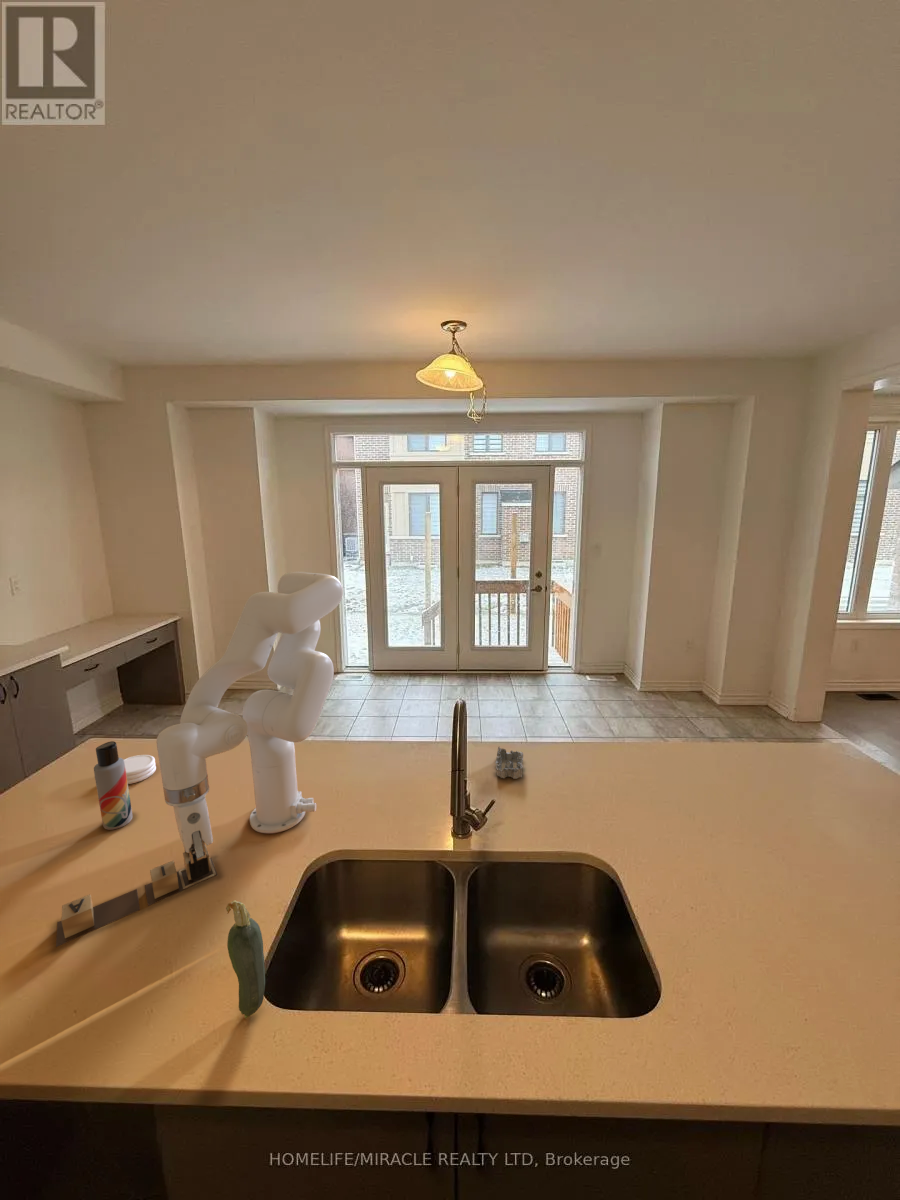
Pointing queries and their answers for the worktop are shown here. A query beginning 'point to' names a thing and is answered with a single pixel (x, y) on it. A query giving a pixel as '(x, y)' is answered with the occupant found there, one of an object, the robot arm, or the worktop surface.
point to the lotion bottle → (112, 787)
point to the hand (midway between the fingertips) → (197, 867)
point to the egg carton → (509, 763)
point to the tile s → (187, 859)
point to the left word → (93, 915)
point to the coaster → (139, 768)
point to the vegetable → (247, 958)
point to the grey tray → (171, 881)
